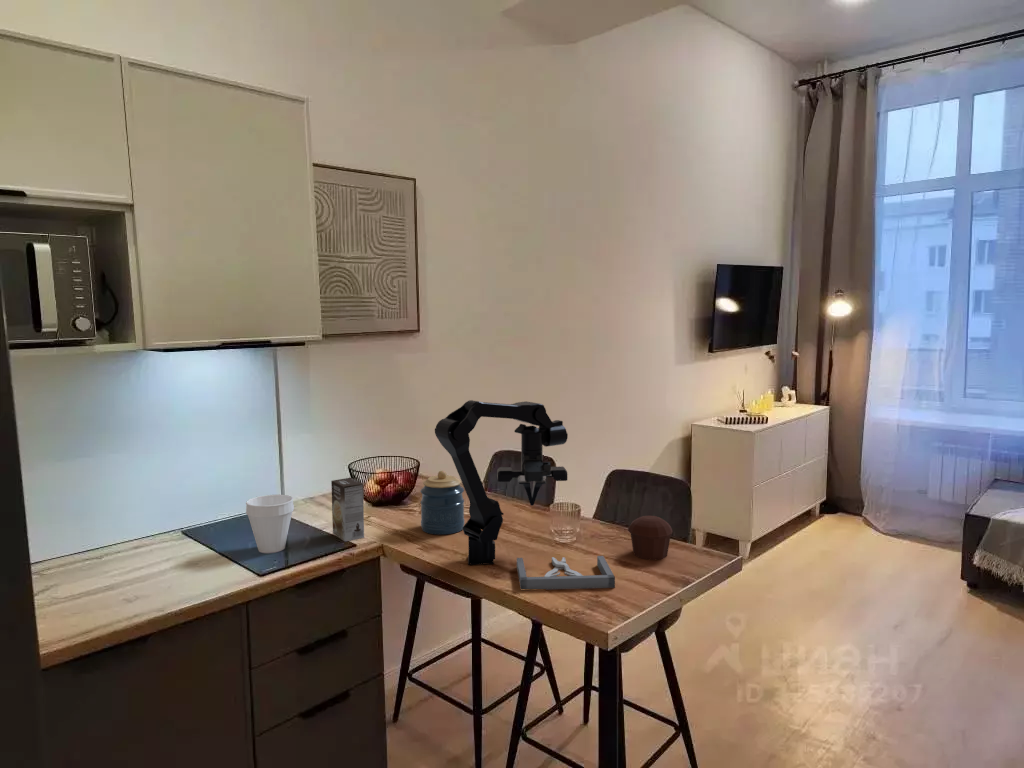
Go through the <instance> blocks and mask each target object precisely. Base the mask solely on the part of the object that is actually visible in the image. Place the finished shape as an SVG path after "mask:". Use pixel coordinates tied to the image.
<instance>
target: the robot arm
mask: <svg viewBox="0 0 1024 768" xmlns="http://www.w3.org/2000/svg"><path fill="white" fill-rule="evenodd" d="M481 418H494V419H495V418H496V419H499V418H500V419H510V420H511V419H512V420H515V421H517V422H522V423H520V424H519V426H517V427H516V428H515V429H514V433H516V434H521V440H520V441H521V442H520V445H521V447H520V449H521V453H520V454H521V455H520V458H521V459H520V460H521V463H520V464H521V467H520V468H521V470H513V468H512V467H509V466H507V467H501V466H499V467H498V468H497V469H496V470H497V471H496V472H497V473H496V478H497V482H500V483H506V482H507V483H509V482H510V481H512V480H513V478H514V479H515V478H517V482H518V485H522V486H523V488H524V489H525V491H526V495H527V499H528V501H529V504H530V506H534V504H535V502H536V499H537V496H538V494H539V492H540V489H541V487H542V485H546V484H547V480H546V479H547V478H552V479H553V480H554V481H556V482H566V481H568V471H567V470H566V468H565V467H564V466H551V461H543V457H544V456H543V455H544V454H543V449H544V448H543V446H544V447H546V448H547V447H553V446H561V445H564V444H566V443H567V441H568V439H569V438H568V432H567V429H566V427H565V426H564V424H563V423H564V422H563V420H560V419H556V420H552V419H551V418H550V416H549V414H548V412H547V409H546V407H545V405H544V404H542V403H538V402H532V401H519V402H515V403H511V404H510V403H498V402H485V401H484V402H483V401H478V400H473V399H471V400H470V399H469V400H467V401H465V403H463V404H462V405H461V406H460V407H459V408H457V409H455V410H454V411H452V412H450V413H448V415H447V416H445V417H444V418H442V419H440V420H439V421H438V422H437V424H436V425H435V427H434V435H435V437H436V439H437V440H438V441H439V443H440V445H441V446H442V447H443V449H444V450H446V452H447V453H448V454H449V455H450V456H451V459H452V461H453V464H454V466H455V469H456V471H457V474H458V476H459V480H460V481H461V484H462V485H463V488H464V491H465V494H466V495H467V498H468V501H469V506H468V507H469V509H468V512H469V518H468V520H467V521H466V522H465V523H464V527H463V529H462V531H463V534H464V535H465V536H468V556H467V564H468V565H470V566H471V565H494V560H495V559H496V541H497V540H498V537H499V533H500V530H501V527H502V525H503V523H504V519H503V516H504V512H503V511H502V509H501V507H500V506H501V505H500V503H499V501H498V500H496V499H493V498H491V497H489V496H488V494H487V492H486V490H485V487H484V485H483V482H482V480H481V477H480V475H479V472H478V470H477V468H476V464H475V463H474V460H473V456H472V454H471V452H470V443H471V442H470V441H471V439H470V435H469V434H470V433H471V432H472V431H473V430H474V429H475V427H476V426H477V423H478V421H479V420H480V419H481ZM523 423H526V424H530V425H526V424H523ZM531 482H532V489H531Z"/></svg>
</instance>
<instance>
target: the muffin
mask: <svg viewBox="0 0 1024 768" xmlns="http://www.w3.org/2000/svg"><path fill="white" fill-rule="evenodd" d="M627 531H628V533H630V538H631V545H632V553H633V552H634V553H633V555H634V556H635V557H637V558H640V559H641V560H649V559H650V561H655V559H656V560H663V559H665V558H666V557H668V554H669V553H668V552H669V548H670V547H669V546H670V543H671V542H670V541H671V536H672V534H673V528H672V526H671V524H670V523H668V522H667V521H666V520H664V518H661V517H659V516H656V515H643V516H642V515H641V516H639V517H637V518H635V519H634V520H632V521H631V523H630V525H629V526H628V528H627Z"/></svg>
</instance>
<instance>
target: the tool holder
mask: <svg viewBox="0 0 1024 768" xmlns="http://www.w3.org/2000/svg"><path fill="white" fill-rule="evenodd" d="M596 559H597V561H596V564H597V565H596V566H597V569H598V570H599V571H600V574H599V575H597V574H596V575H595V574H593V575H583V576H569V575H562V576H561V575H560V576H559V575H558V576H551V577H544V576H527V573H526V567H525V563H524V558H523V557H516V571H517V576H518V583H519V582H520V583H519V587H520V588H521V589H546V590H577V589H579V590H581V589H582V590H584V589H608V588H609V589H614V588H616V577H615V575H614V573H613V571H612V569H611V567H610V566H609V564H608V562H607V560H606V558H605V556H604V555H597V557H596ZM521 589H520V590H521Z"/></svg>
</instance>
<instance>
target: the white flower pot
mask: <svg viewBox="0 0 1024 768" xmlns="http://www.w3.org/2000/svg"><path fill="white" fill-rule="evenodd" d="M245 505H246V506H245V507H246V509H245V510H246V511H245V514H246V515H247V517H248V520H249V522H250V523H249V524H250V527H251V529H252V533H253V537H254V540H255V544H256V546H257V550H258V552H259V553H262V554H274V553H279V552H281V551H283V550H285V549H286V543H287V539H288V533H289V528H290V524H291V519H292V514H293V511H294V510H295V507H294V497H292V495H291V496H290V495H288V494H266V495H259V496H256V497H251V498H249V499H248V500H247V501H246V502H245Z"/></svg>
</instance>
